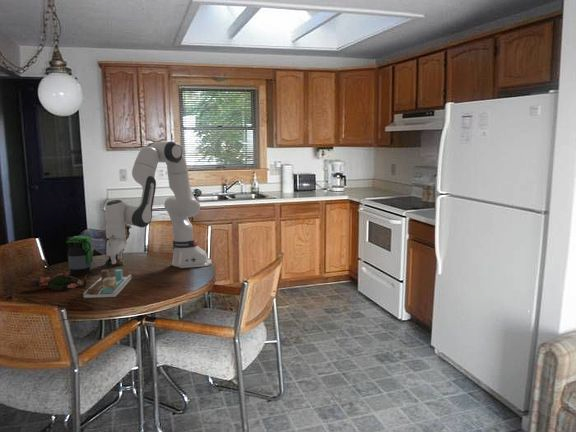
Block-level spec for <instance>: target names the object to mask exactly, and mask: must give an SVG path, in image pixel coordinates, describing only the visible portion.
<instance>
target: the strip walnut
mask: <svg viewBox="0 0 576 432" xmlns="http://www.w3.org/2000/svg"><path fill="white" fill-rule="evenodd" d="M109 277H110V269H102V270H101V271H100V278H101V280H100V281H99V282H98V283H97V284H96V285H95V286H94V287H93V288H91V289H88V288H87V289H88V294H98V292H99V291H100V290H101V289H102V288H103V280H104V279H105V278H109Z"/></svg>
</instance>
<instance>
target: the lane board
mask: <svg viewBox="0 0 576 432" xmlns="http://www.w3.org/2000/svg"><path fill="white" fill-rule="evenodd" d="M123 278H124V281H123V282H122V283H121V284H120V285H119V286H118V287H117V288H116V289H115V290H114V291H113V293H107V294H103V288H102V289H101V290H100V291H99V292H98V294H88V289H91V288H93V287H94V286H95V285H96V284H97V283H98V282H99V281H100V280H101V277H100V278H99V279H98V280H96V281H95V282H94V283H92V284H91V286H90V287H88V288H87V289H86V290H84V292H82V294H83V298H84V299H86V298H87V299H88V298H113V297H114V298H115V297H117V296H118V295H119V293H120V292H122V290H124V287H125V286H126V285H128V283H129V282H130V281H131V280H132V274H128V275H127V276H123Z"/></svg>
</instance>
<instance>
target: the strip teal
mask: <svg viewBox="0 0 576 432" xmlns="http://www.w3.org/2000/svg"><path fill="white" fill-rule="evenodd" d="M123 273H124V271H123V269H122V268H121V269H120V268H119V269H118V268H117V269H116V268H115V270H114V277H116V287H115V289H116V288H117V287H118V286H119V285H120V284H121V283H122V282H123V281H124V278H123V277H124V275H123ZM115 289H114V290H115ZM114 290H112V288H103V294H107V293H113V291H114Z"/></svg>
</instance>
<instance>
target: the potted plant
mask: <svg viewBox="0 0 576 432" xmlns="http://www.w3.org/2000/svg"><path fill="white" fill-rule="evenodd" d="M65 243H67V244H66V245H67V259H68V262H67V263H68V270H69V273H70V274H73V276H85V274H89V273H90V270H91V263H92V262H93V260H94V259H93V248H92V247H93V246H92V237H91V235H89V236H88V235H87V236H86V235H85V236H84V235H83V236H82V235H75V236H66V241H65Z"/></svg>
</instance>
